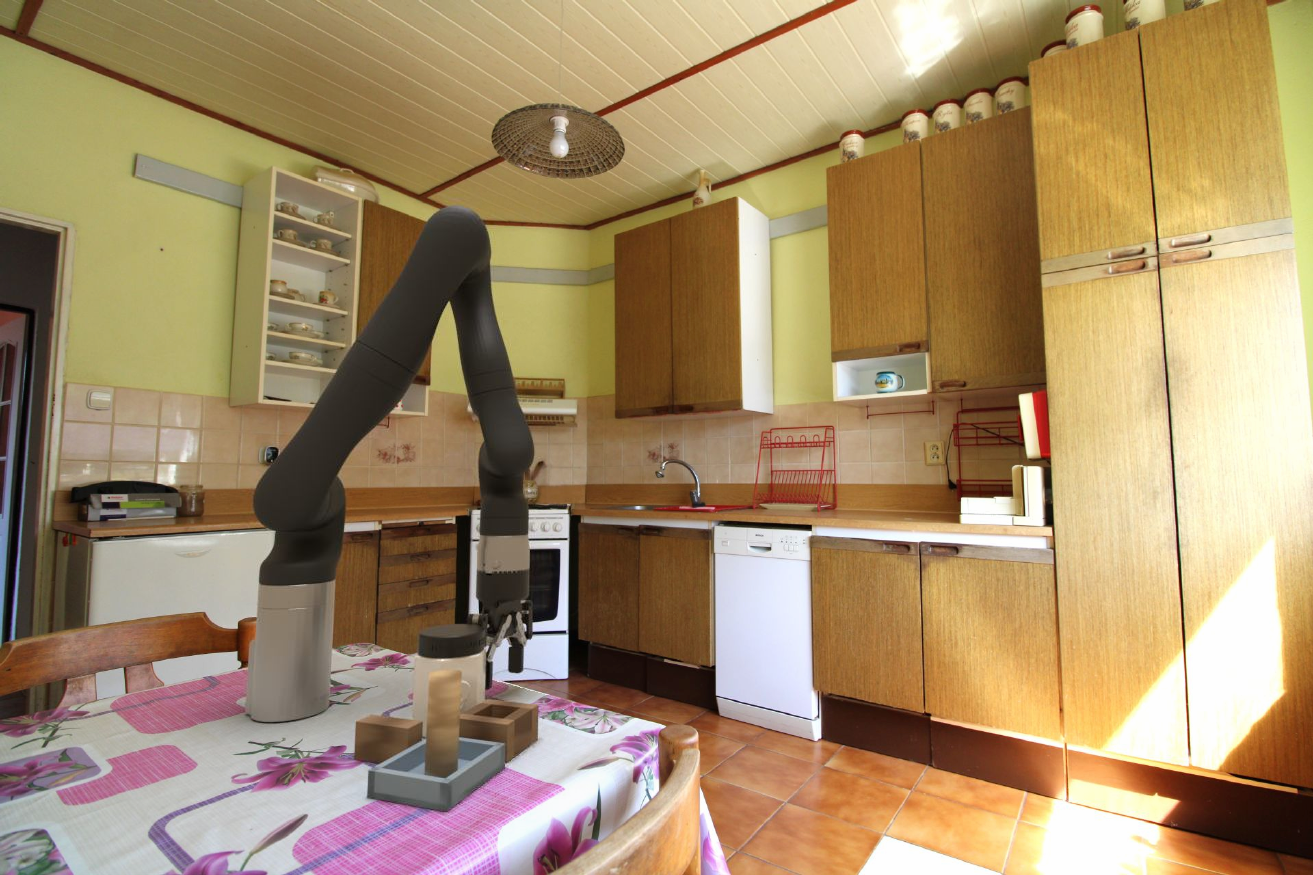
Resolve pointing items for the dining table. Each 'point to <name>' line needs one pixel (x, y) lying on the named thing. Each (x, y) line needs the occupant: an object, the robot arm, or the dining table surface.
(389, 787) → the tray
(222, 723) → the dining table surface
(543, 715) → the dining table surface
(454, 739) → the dowel
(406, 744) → the block
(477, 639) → the jar
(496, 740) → the socket block
